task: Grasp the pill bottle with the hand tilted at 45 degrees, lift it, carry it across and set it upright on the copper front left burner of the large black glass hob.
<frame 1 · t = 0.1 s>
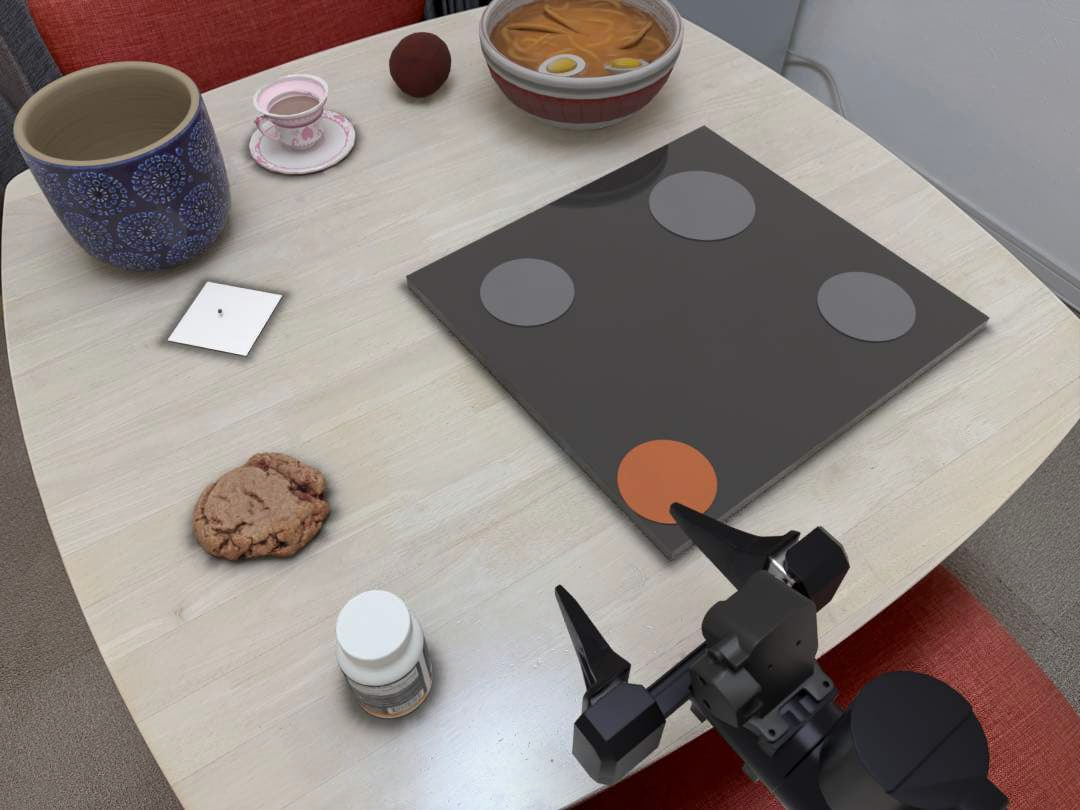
hand: (616, 546, 54), 14 cm above the table, tool horizontal, fingers open, 9 cm apart
hob: (689, 307, 85), on the table
bowl: (578, 103, 107), on the table
coaster: (226, 318, 85), on the table
planter: (164, 236, 92), on the table
pill bottle: (394, 682, 63), on the table
cookie: (265, 516, 72), on the table
potato: (423, 89, 109), on the table
teacup: (304, 144, 102), on the table
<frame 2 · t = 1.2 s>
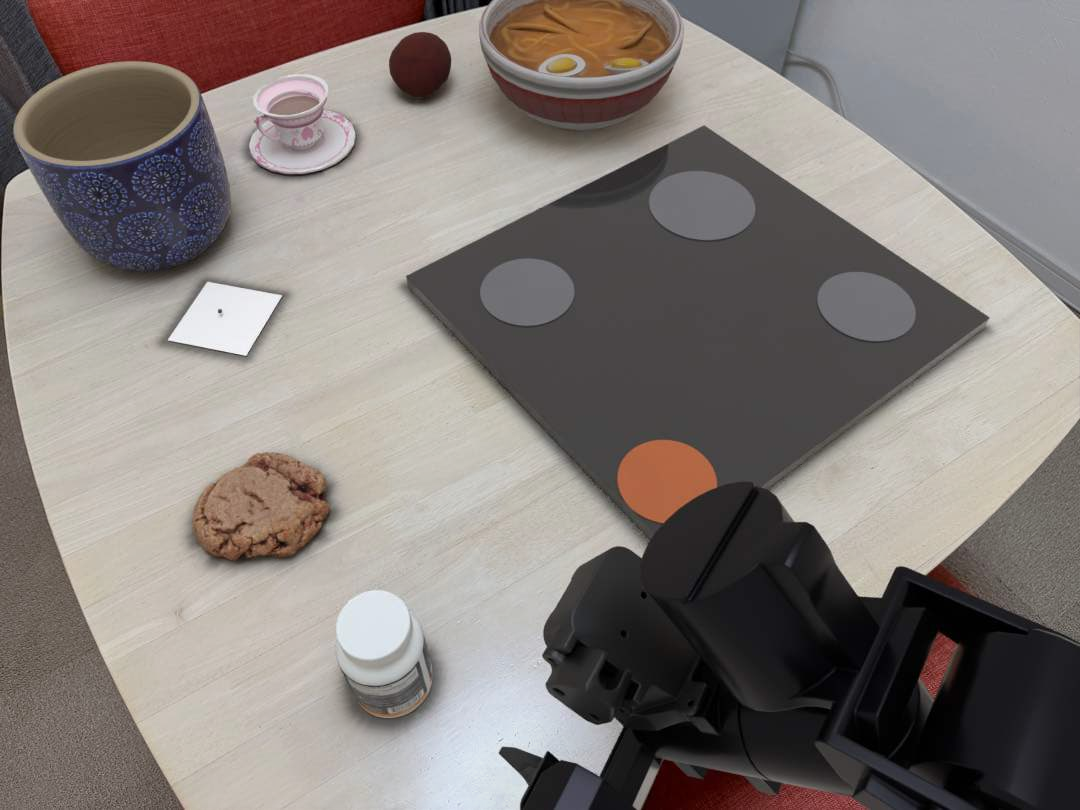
hand: (547, 679, 49), 14 cm above the table, tool tilted 45°, fingers open, 9 cm apart
nothing on the table moved.
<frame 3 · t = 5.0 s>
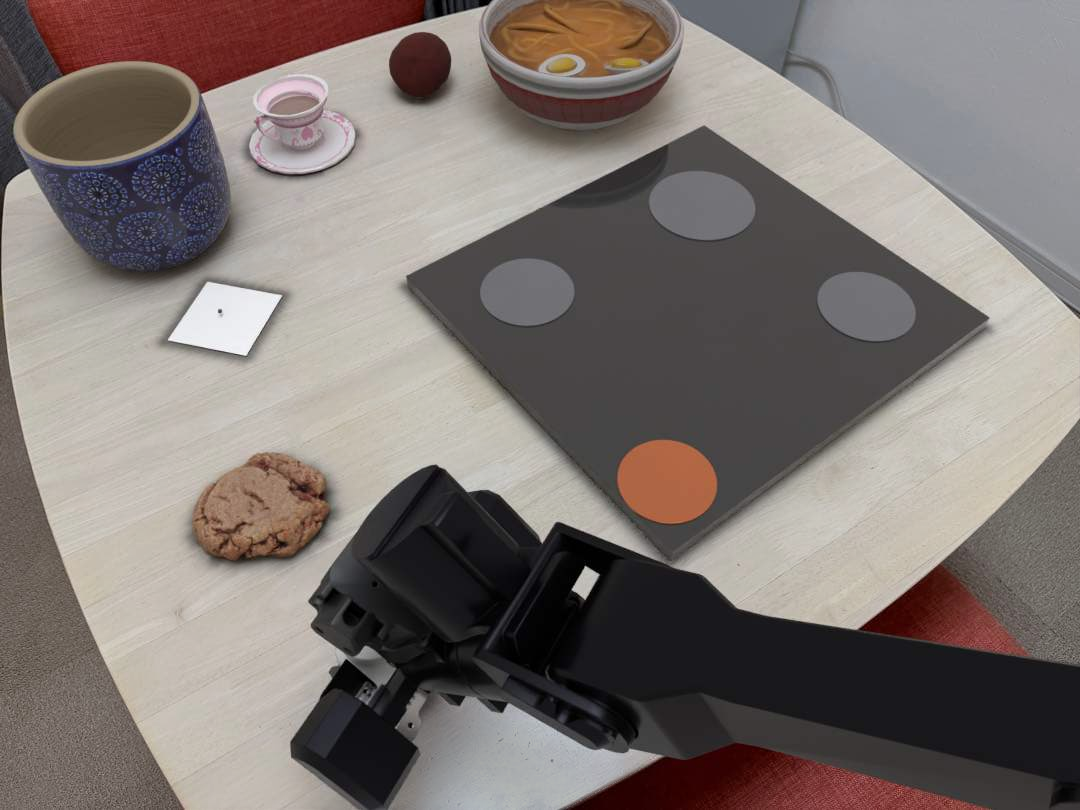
hand: (362, 634, 58), 7 cm above the table, tool tilted 45°, fingers closed on pill bottle, 6 cm apart
pill bottle: (394, 682, 63), on the table, touching gripper
everything else where it was.
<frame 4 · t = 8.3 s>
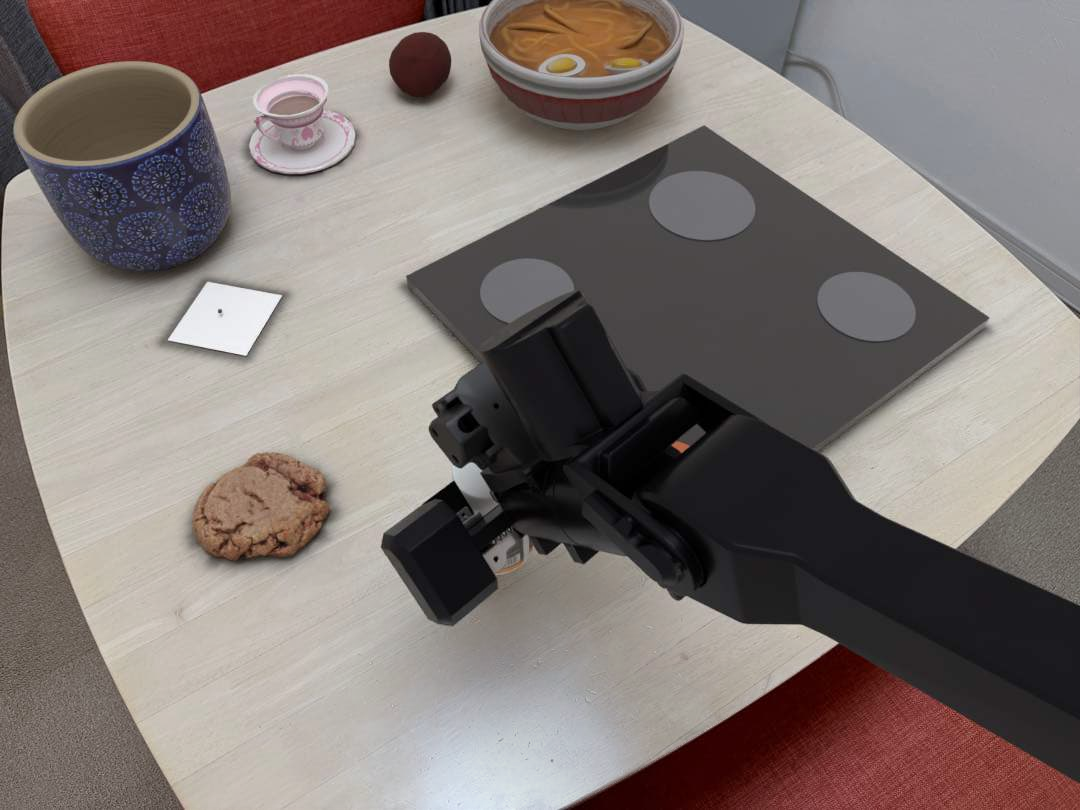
hand: (477, 482, 60), 11 cm above the table, tool tilted 45°, fingers closed on pill bottle, 6 cm apart
pill bottle: (496, 545, 65), point 4 cm above the table, touching gripper
everything else where it was.
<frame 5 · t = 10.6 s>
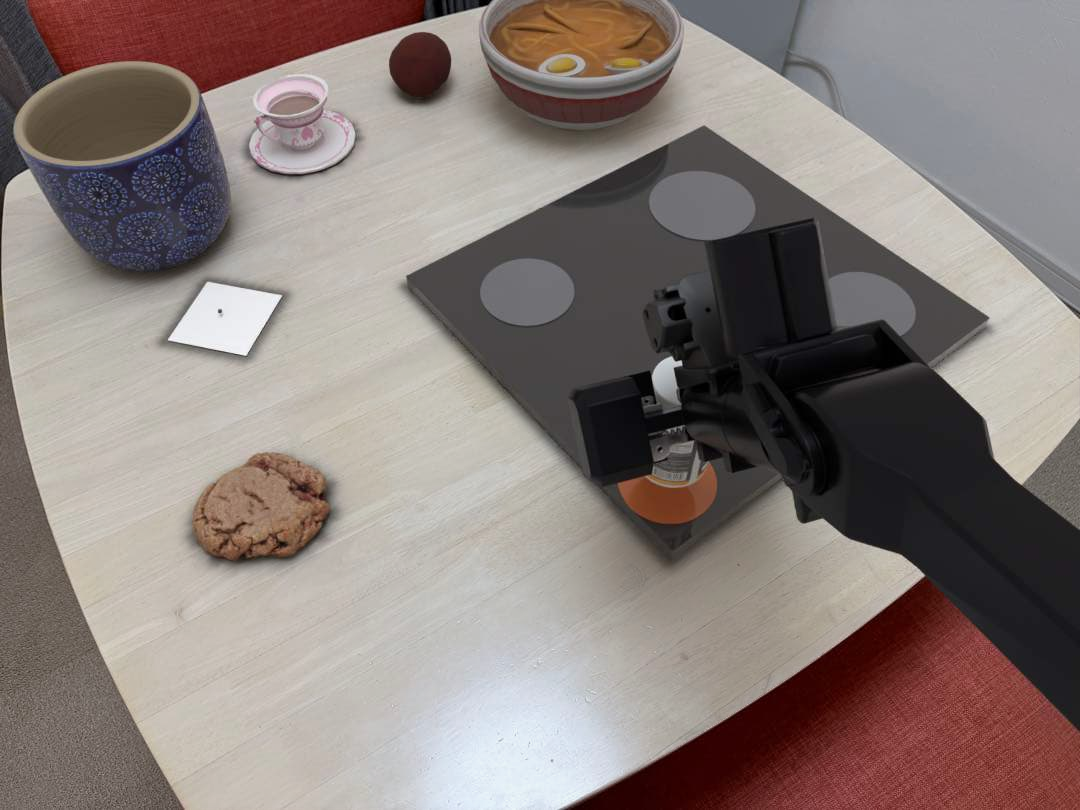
hand: (673, 394, 65), 11 cm above the table, tool tilted 45°, fingers closed on pill bottle, 6 cm apart
pill bottle: (670, 462, 69), point 4 cm above the table, touching gripper
everything else where it was.
when the fingers open (8 cm above the table, at t = 12.1 s): pill bottle stays where it is, resting on hob.
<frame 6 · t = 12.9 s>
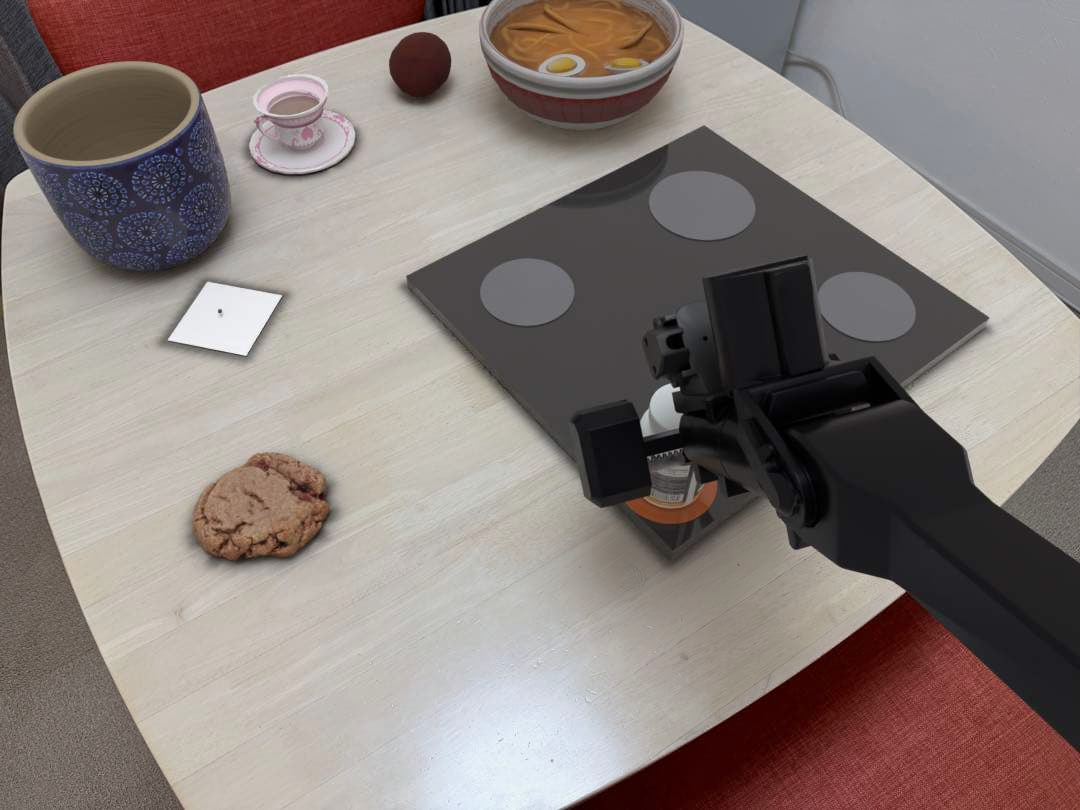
hand: (671, 413, 66), 9 cm above the table, tool tilted 45°, fingers open, 9 cm apart
pill bottle: (667, 483, 71), point 1 cm above the table, touching hob
everything else where it was.
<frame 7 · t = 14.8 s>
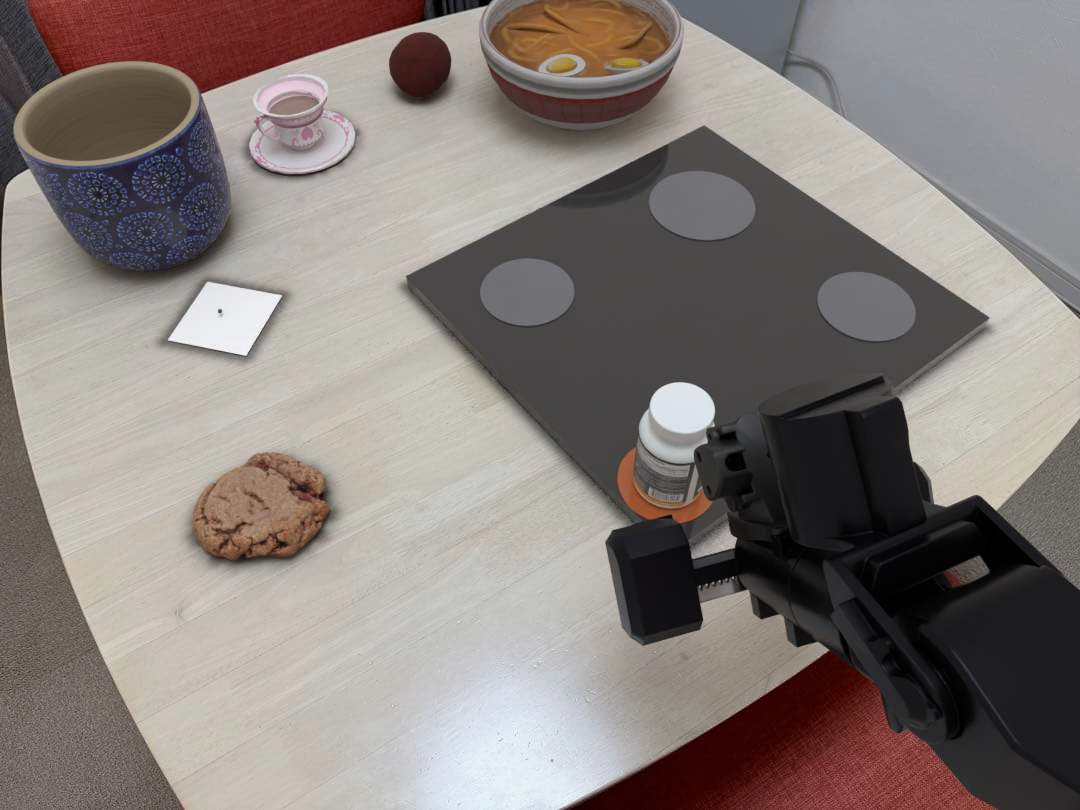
hand: (717, 515, 58), 11 cm above the table, tool tilted 45°, fingers open, 9 cm apart
nothing on the table moved.
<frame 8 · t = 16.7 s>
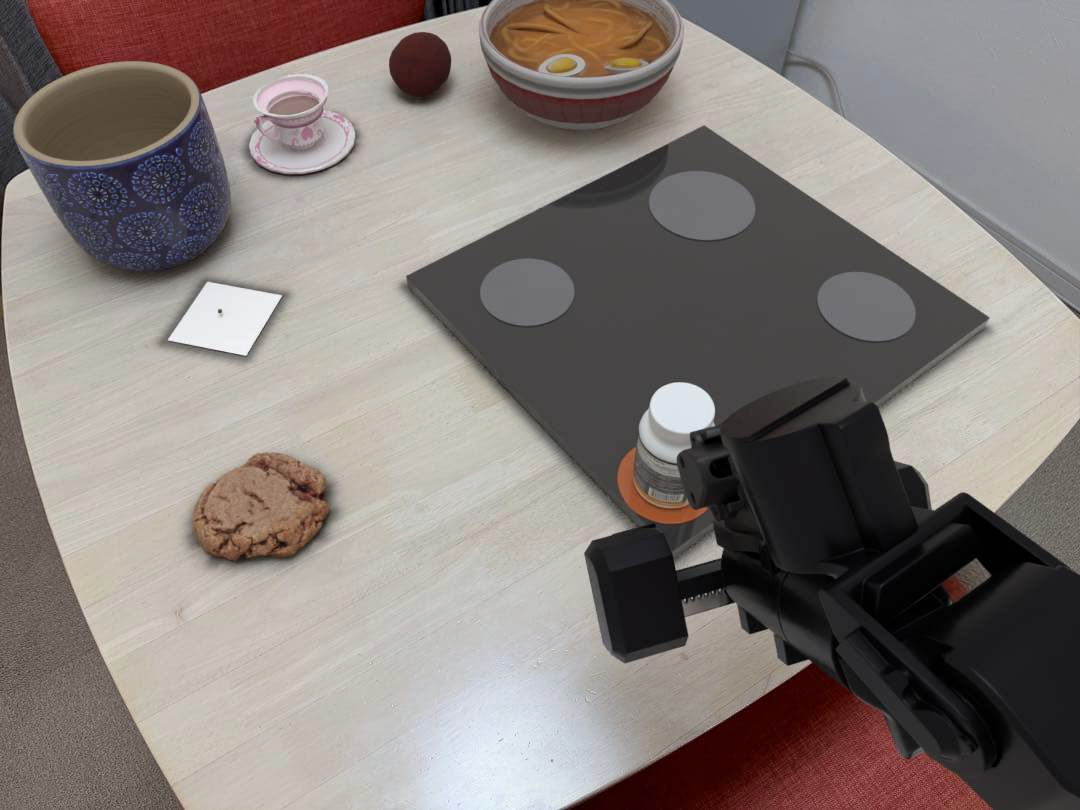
hand: (704, 521, 55), 14 cm above the table, tool tilted 45°, fingers open, 9 cm apart
nothing on the table moved.
at the end: pill bottle inside the target area on the hob (1.2 cm from its centre), point 1.5 cm above the hob's base; pill bottle tilted 0°; the gripper is holding nothing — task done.
